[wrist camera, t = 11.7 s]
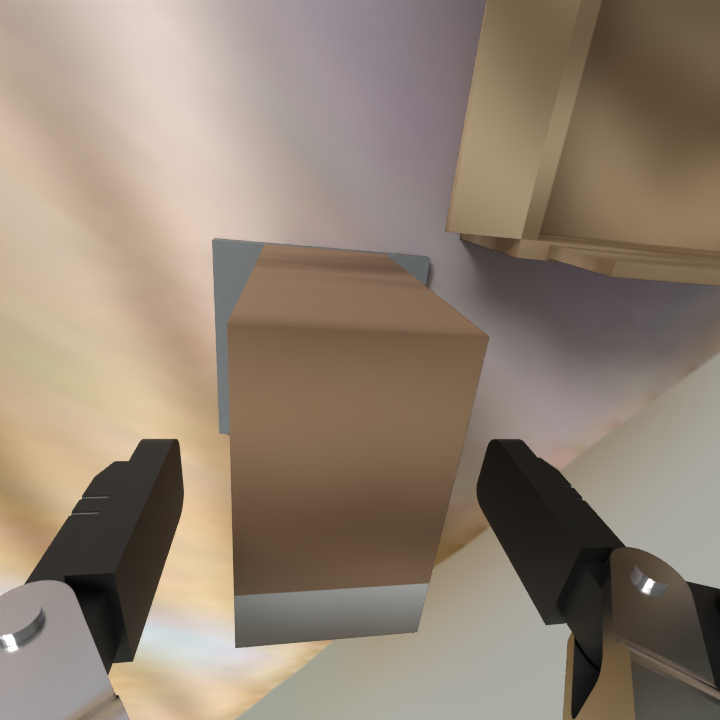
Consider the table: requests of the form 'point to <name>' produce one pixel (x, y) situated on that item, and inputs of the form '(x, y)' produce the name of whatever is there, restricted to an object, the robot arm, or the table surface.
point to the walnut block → (341, 442)
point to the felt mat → (229, 281)
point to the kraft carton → (595, 137)
